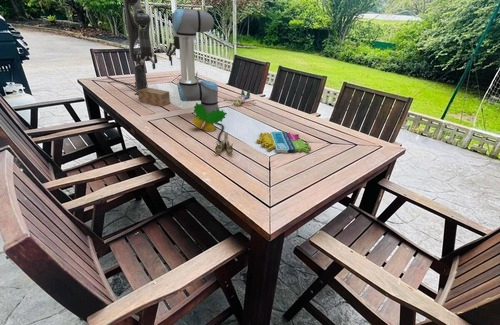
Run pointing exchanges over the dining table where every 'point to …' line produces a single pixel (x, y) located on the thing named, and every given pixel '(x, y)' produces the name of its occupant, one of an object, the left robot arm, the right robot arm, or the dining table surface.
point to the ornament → (207, 117)
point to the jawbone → (224, 145)
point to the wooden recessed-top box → (154, 96)
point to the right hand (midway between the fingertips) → (180, 65)
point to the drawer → (138, 95)
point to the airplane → (196, 78)
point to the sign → (283, 142)
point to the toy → (241, 99)
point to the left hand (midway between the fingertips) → (148, 69)
